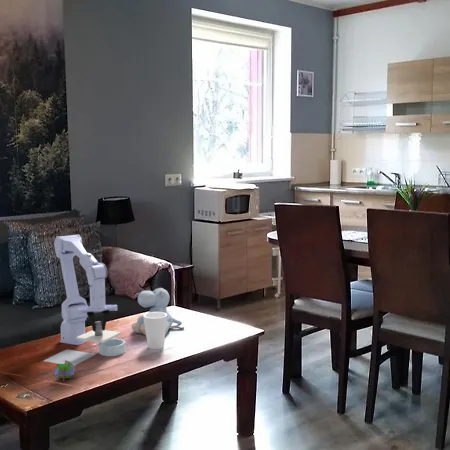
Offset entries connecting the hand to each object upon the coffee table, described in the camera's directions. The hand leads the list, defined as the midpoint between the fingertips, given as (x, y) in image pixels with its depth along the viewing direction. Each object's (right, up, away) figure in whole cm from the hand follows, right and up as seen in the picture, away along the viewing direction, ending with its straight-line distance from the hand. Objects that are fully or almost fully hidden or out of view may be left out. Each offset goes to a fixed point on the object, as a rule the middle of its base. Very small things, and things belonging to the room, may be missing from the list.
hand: (98, 330), depth 233 cm
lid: (0, -3, 0) cm, 3 cm away
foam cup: (+21, -9, +10) cm, 25 cm away
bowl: (+5, -9, +3) cm, 11 cm away
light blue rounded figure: (+19, -6, +33) cm, 39 cm away
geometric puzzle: (-7, -13, -24) cm, 28 cm away
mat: (-10, -10, -3) cm, 15 cm away
